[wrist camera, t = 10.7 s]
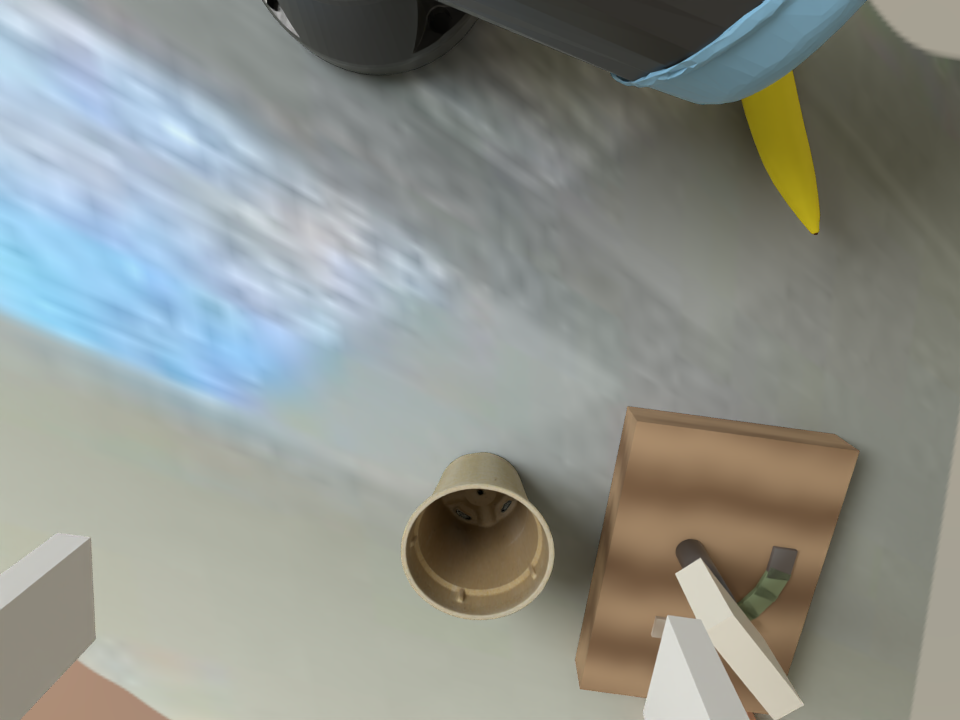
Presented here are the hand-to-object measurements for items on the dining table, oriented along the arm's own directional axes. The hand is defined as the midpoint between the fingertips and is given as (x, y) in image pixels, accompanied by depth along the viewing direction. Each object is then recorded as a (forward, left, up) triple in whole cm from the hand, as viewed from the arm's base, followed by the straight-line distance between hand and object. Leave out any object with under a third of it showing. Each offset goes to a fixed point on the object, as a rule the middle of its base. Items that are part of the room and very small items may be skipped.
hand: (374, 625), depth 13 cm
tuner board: (+14, +20, -29) cm, 38 cm away
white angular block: (+13, +19, -26) cm, 35 cm away
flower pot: (+11, +3, -29) cm, 31 cm away
